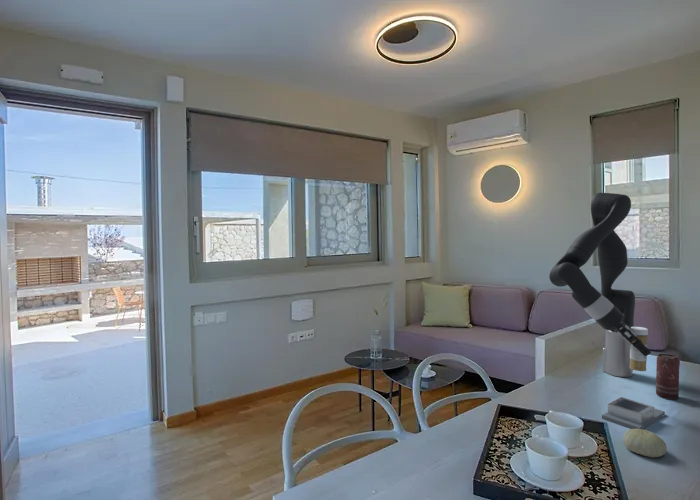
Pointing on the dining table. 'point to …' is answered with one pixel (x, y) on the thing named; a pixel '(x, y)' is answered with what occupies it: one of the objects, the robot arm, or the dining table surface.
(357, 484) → the dining table surface
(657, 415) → the slate board
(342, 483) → the dining table surface
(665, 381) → the can
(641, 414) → the collar
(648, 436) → the sea urchin shell
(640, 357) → the sprinkles bottle
